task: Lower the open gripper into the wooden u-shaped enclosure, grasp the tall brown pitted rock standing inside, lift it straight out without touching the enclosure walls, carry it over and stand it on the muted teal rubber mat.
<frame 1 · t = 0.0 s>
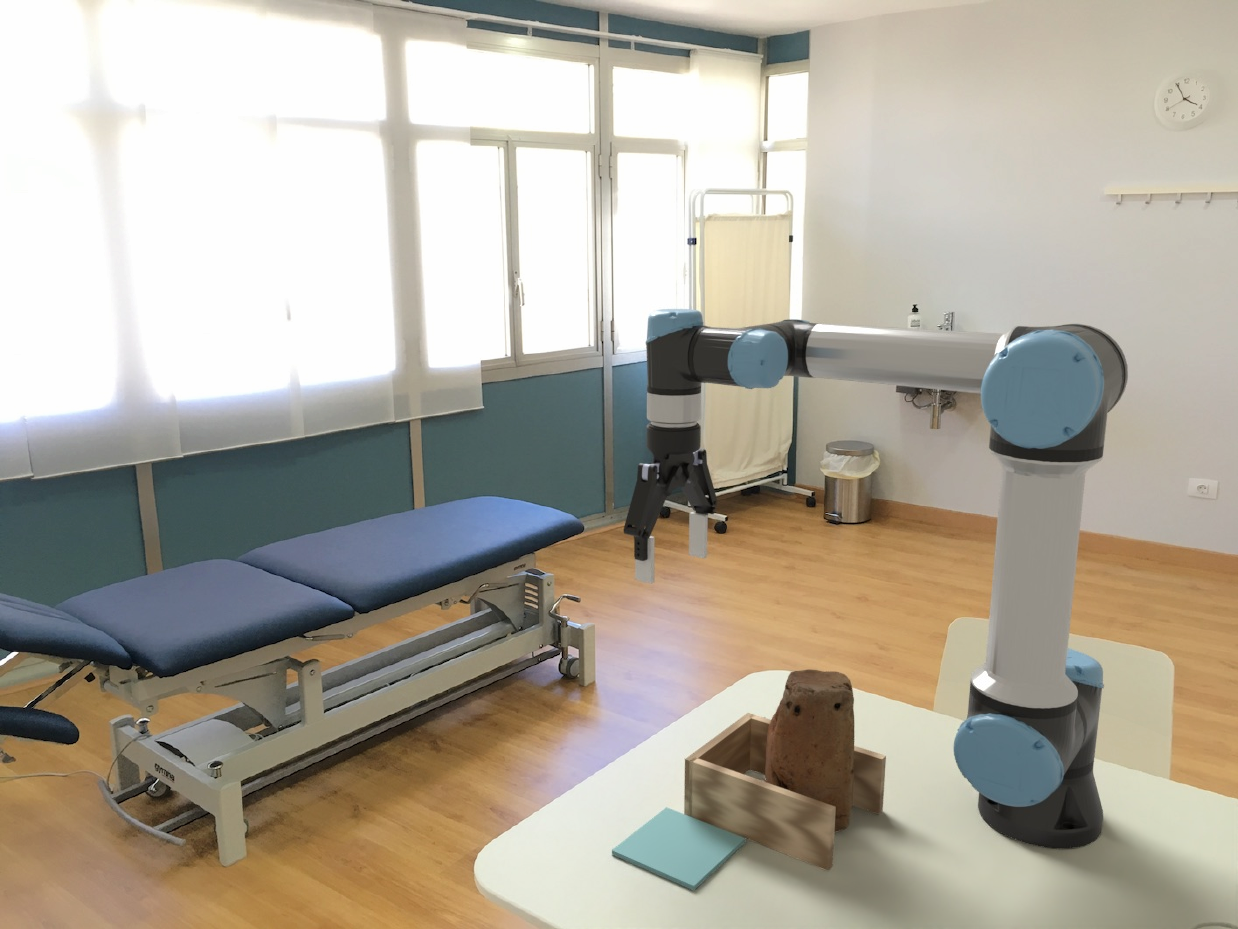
hand: (672, 568, 148), 28 cm above the table, fingers open, 13 cm apart
brown pitted rock: (806, 822, 135), on the table
wooden u-shaped enclosure: (786, 813, 137), on the table
mat: (679, 848, 129), on the table
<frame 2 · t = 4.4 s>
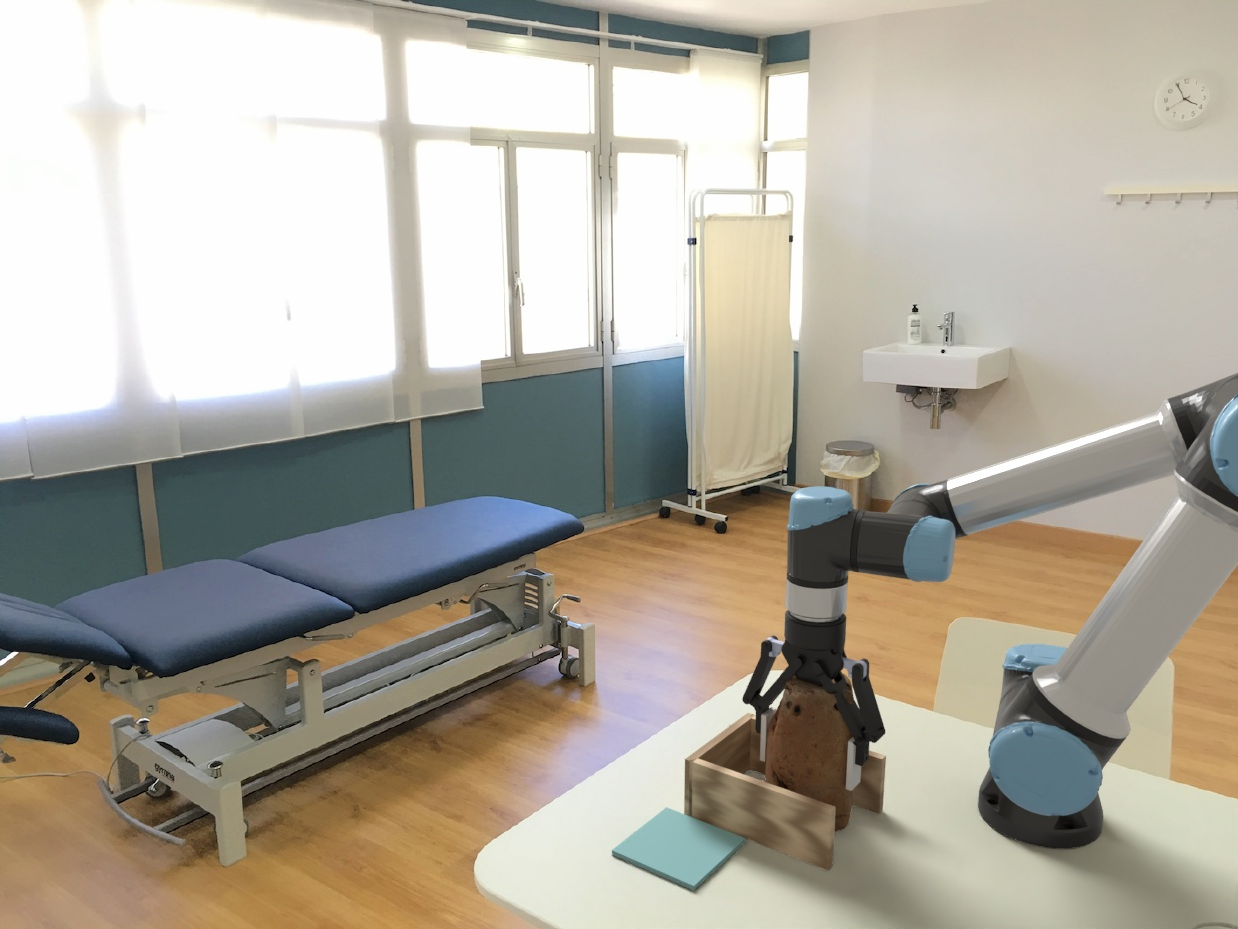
hand: (809, 771, 133), 7 cm above the table, fingers closed on brown pitted rock, 11 cm apart
brown pitted rock: (806, 822, 135), on the table, touching gripper
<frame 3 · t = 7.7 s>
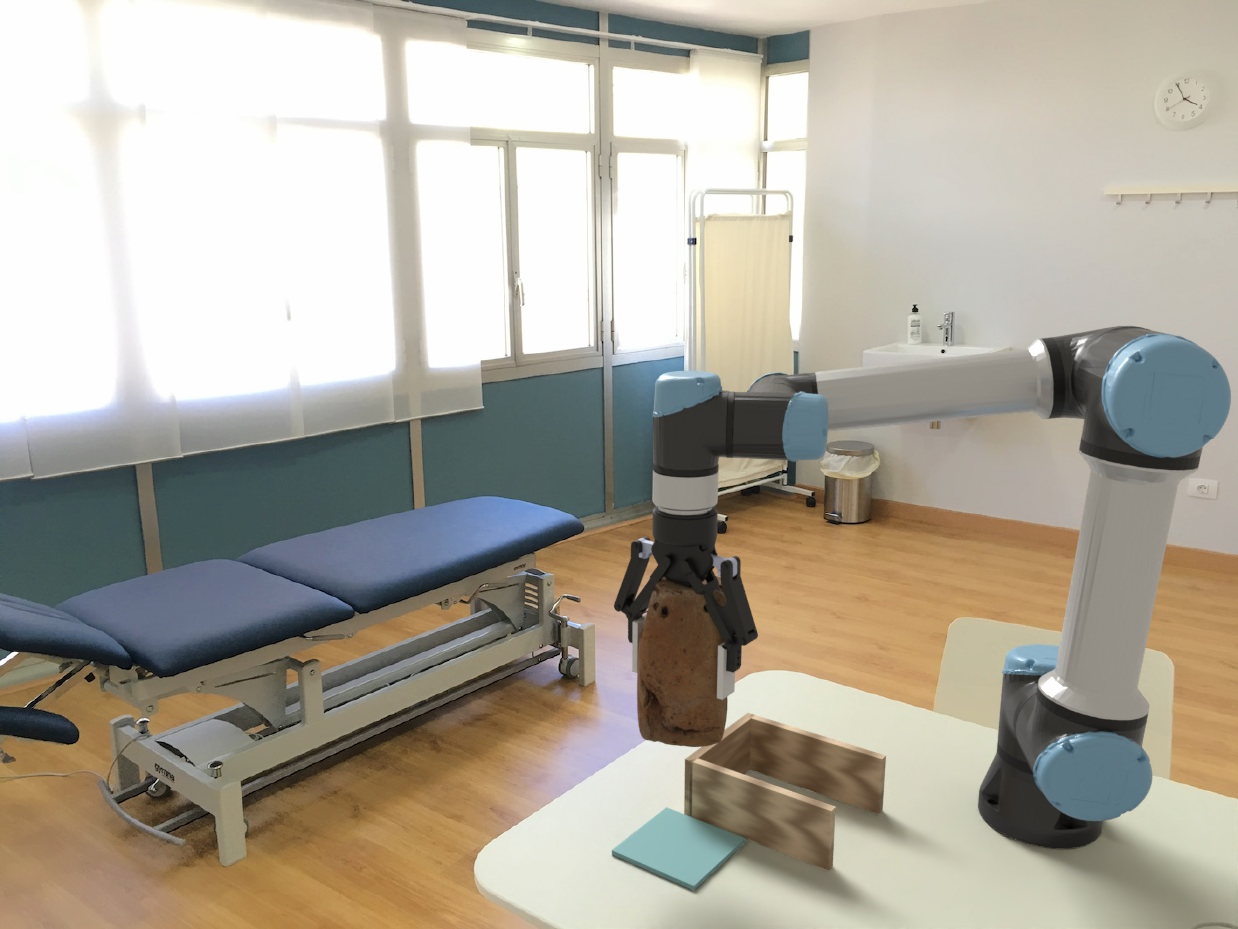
hand: (682, 681, 124), 22 cm above the table, fingers closed on brown pitted rock, 11 cm apart
brown pitted rock: (680, 737, 126), point 15 cm above the table, touching gripper
when the fingers open (9 cm above the table, at t = 10.9 s): brown pitted rock stays where it is, resting on mat.
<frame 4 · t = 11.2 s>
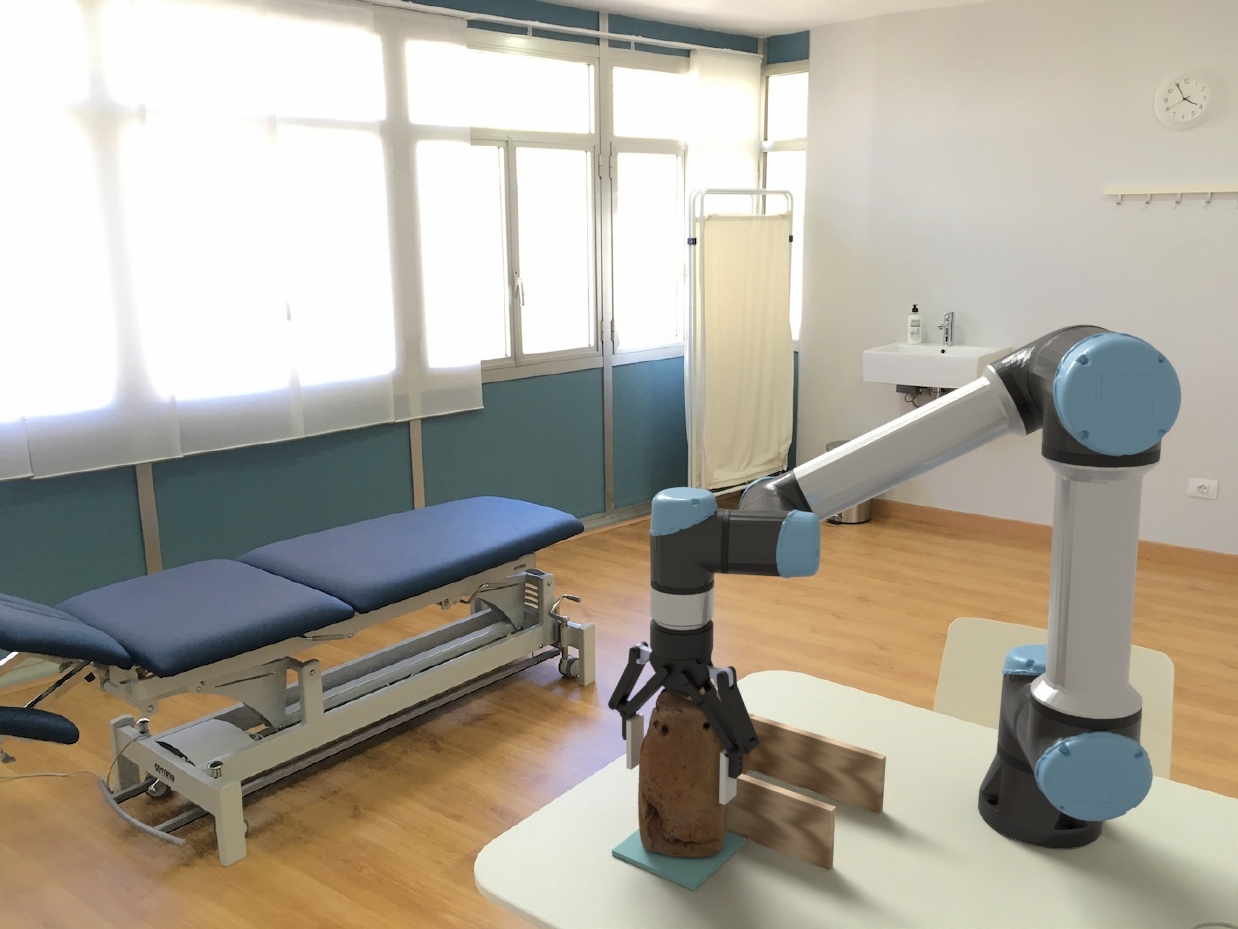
hand: (680, 781, 127), 9 cm above the table, fingers open, 13 cm apart
brown pitted rock: (681, 845, 129), resting on mat
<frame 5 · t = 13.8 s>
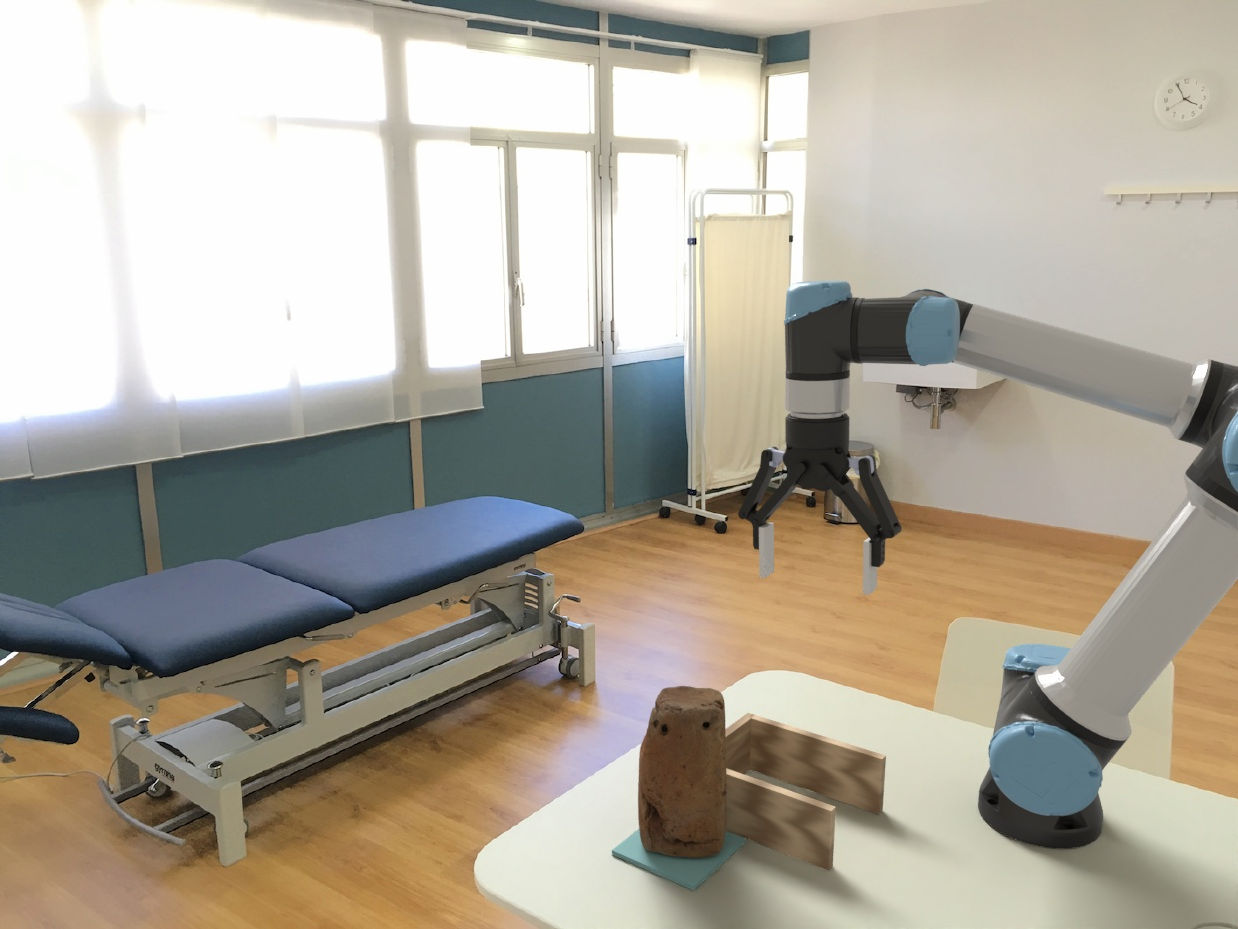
hand: (816, 583, 127), 33 cm above the table, fingers open, 13 cm apart
nothing on the table moved.
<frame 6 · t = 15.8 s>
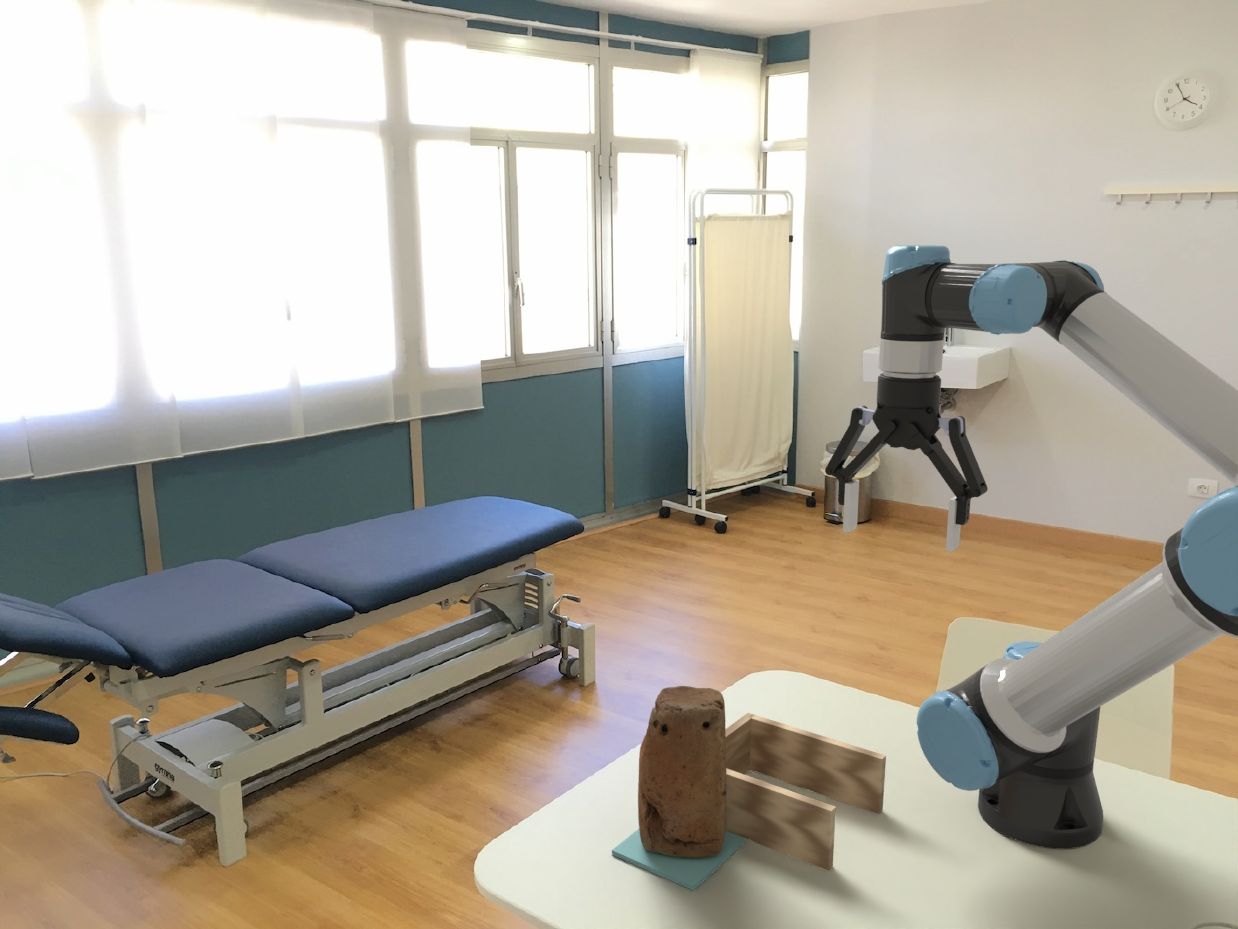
hand: (899, 539, 132), 37 cm above the table, fingers open, 13 cm apart
nothing on the table moved.
at the end: brown pitted rock 0.3 cm from the mat (horizontally); brown pitted rock tilted 0°; the gripper is holding nothing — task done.
